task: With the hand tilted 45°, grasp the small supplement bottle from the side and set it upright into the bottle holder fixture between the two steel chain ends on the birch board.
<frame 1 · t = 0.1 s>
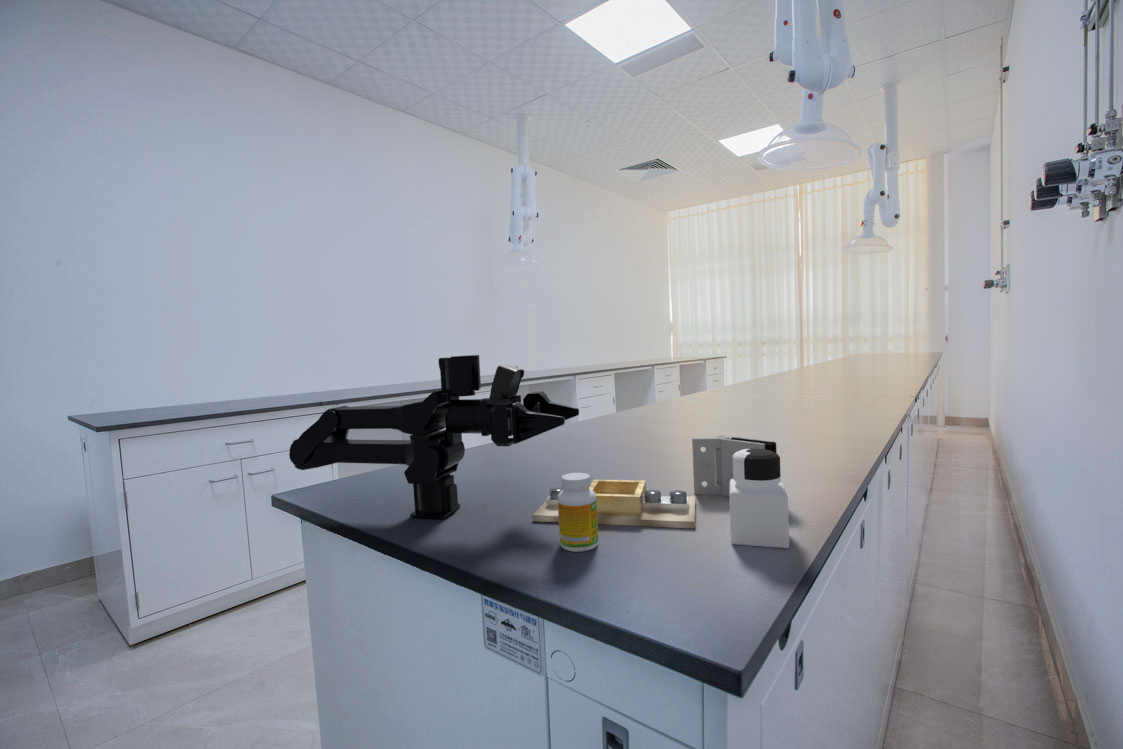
hand: (572, 416, 78), 17 cm above the worktop, tool horizontal, fingers open, 9 cm apart
medicine bottle: (758, 538, 69), on the worktop
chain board: (616, 511, 82), on the worktop
bottle holder fixture: (615, 496, 82), on the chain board, point 2 cm above the worktop
hinge: (734, 497, 86), on the worktop
supplement bottle: (579, 546, 69), on the worktop
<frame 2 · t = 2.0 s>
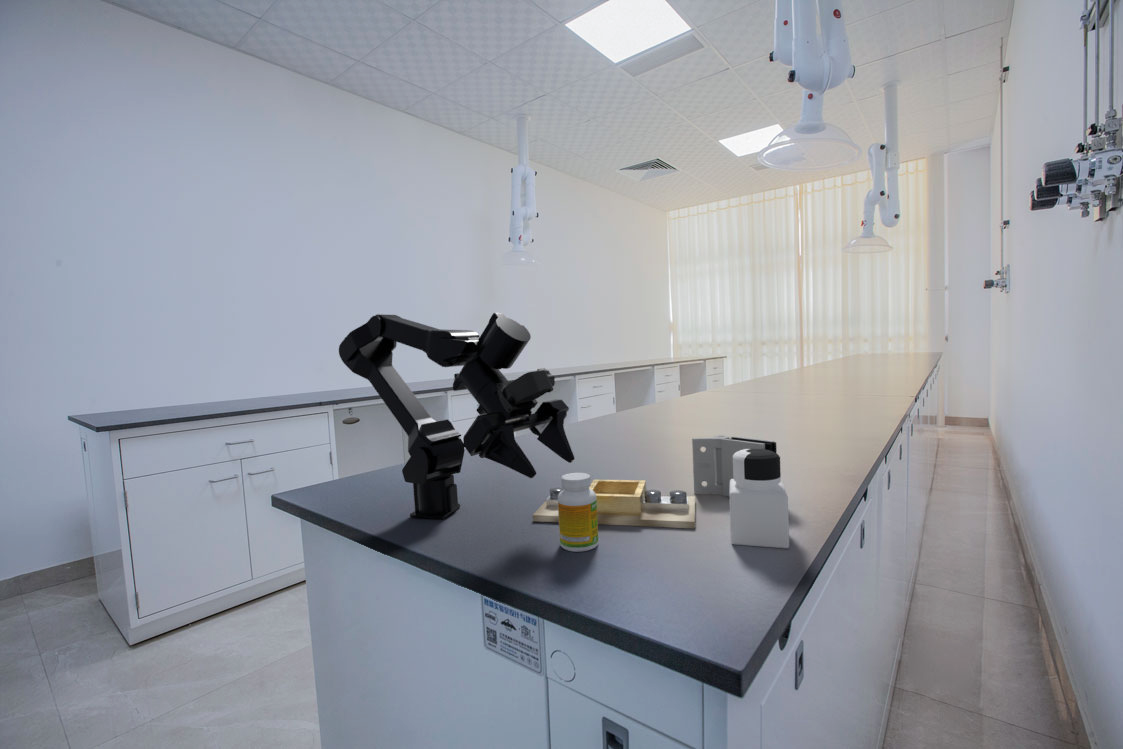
hand: (554, 468, 71), 10 cm above the worktop, tool tilted 45°, fingers open, 9 cm apart
nothing on the worktop moved.
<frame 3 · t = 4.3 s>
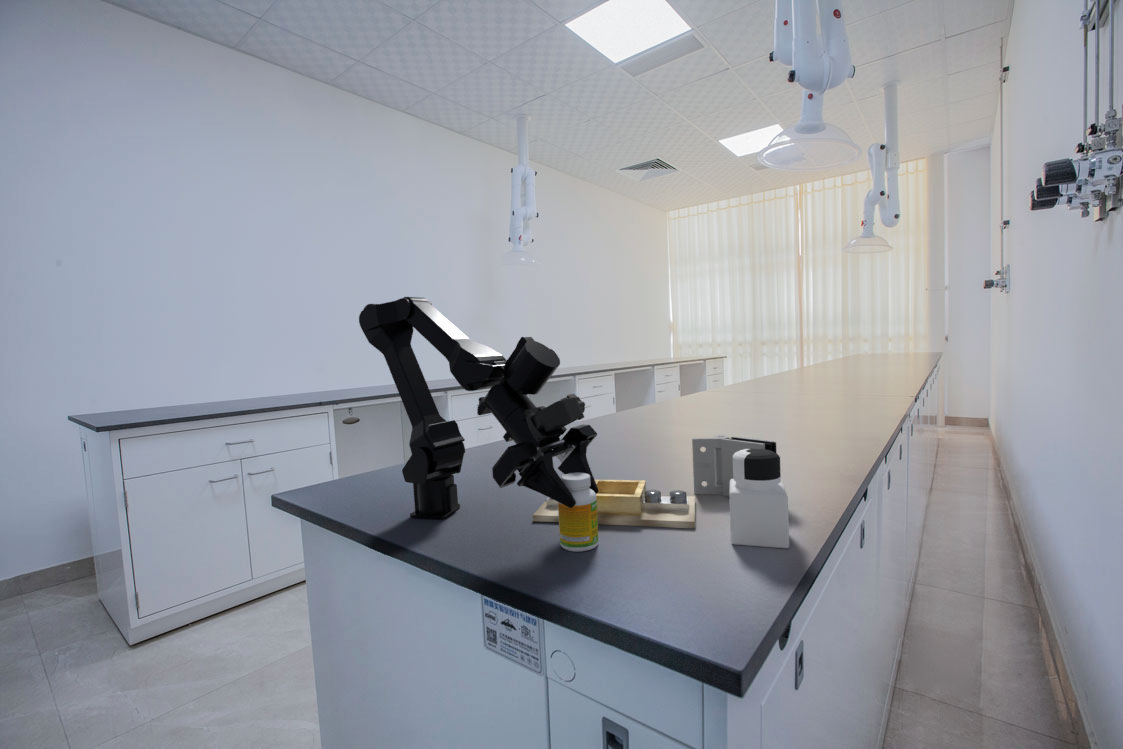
hand: (585, 499, 68), 7 cm above the worktop, tool tilted 45°, fingers closed on supplement bottle, 5 cm apart
supplement bottle: (579, 546, 69), on the worktop, touching gripper
everything else where it was.
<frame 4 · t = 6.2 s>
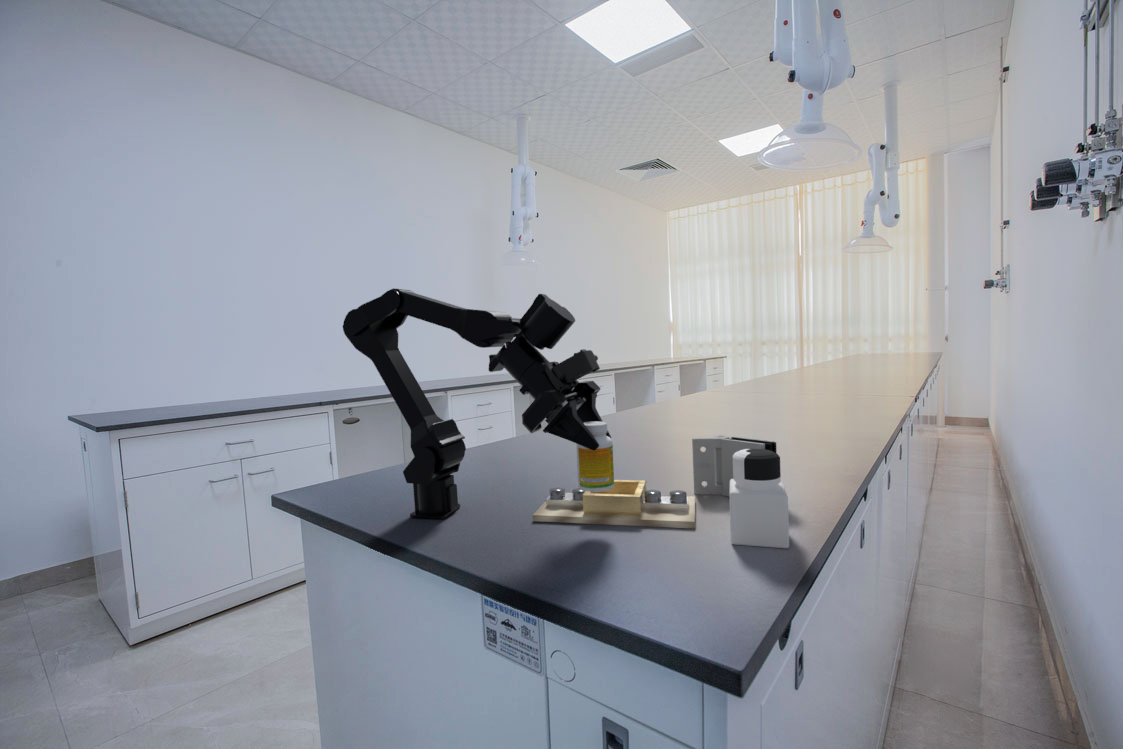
hand: (603, 444, 74), 13 cm above the worktop, tool tilted 45°, fingers closed on supplement bottle, 5 cm apart
supplement bottle: (596, 488, 74), point 6 cm above the worktop, touching gripper
everything else where it was.
when the fingers open (9 cm above the worktop, at t = 8.5 s): supplement bottle drops 1 cm, resting on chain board.
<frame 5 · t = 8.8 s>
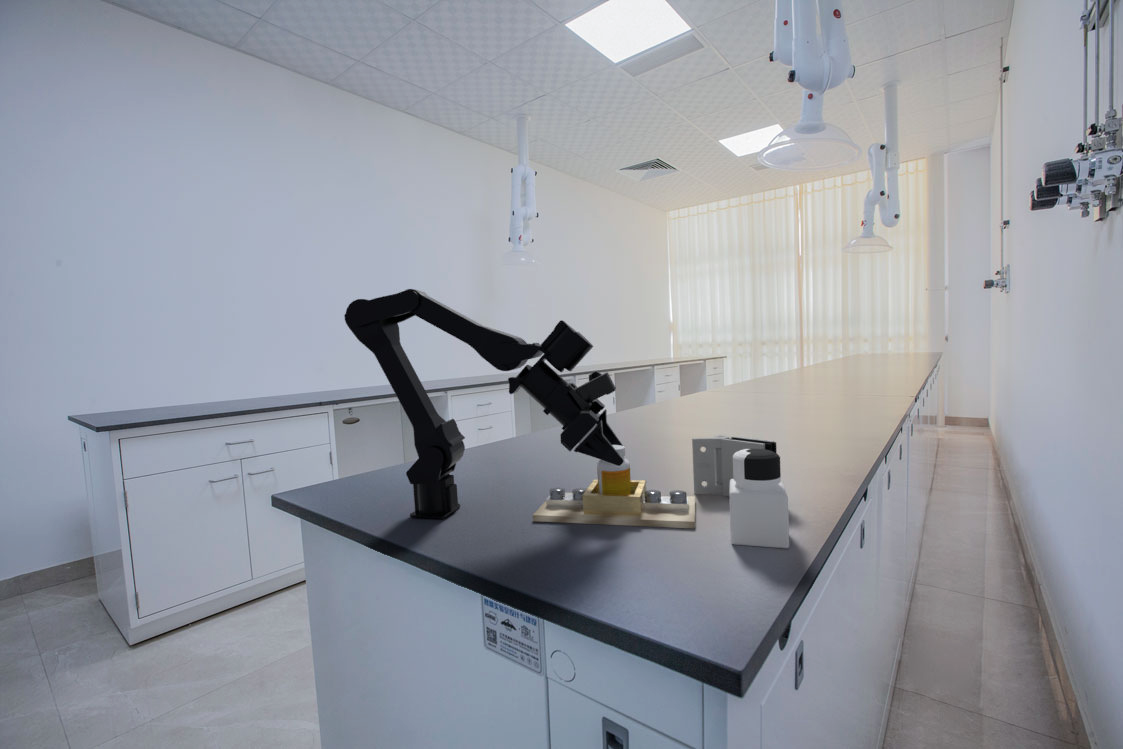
hand: (622, 457, 81), 9 cm above the worktop, tool tilted 45°, fingers open, 8 cm apart
supplement bottle: (615, 506, 82), point 1 cm above the worktop, touching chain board
everything else where it was.
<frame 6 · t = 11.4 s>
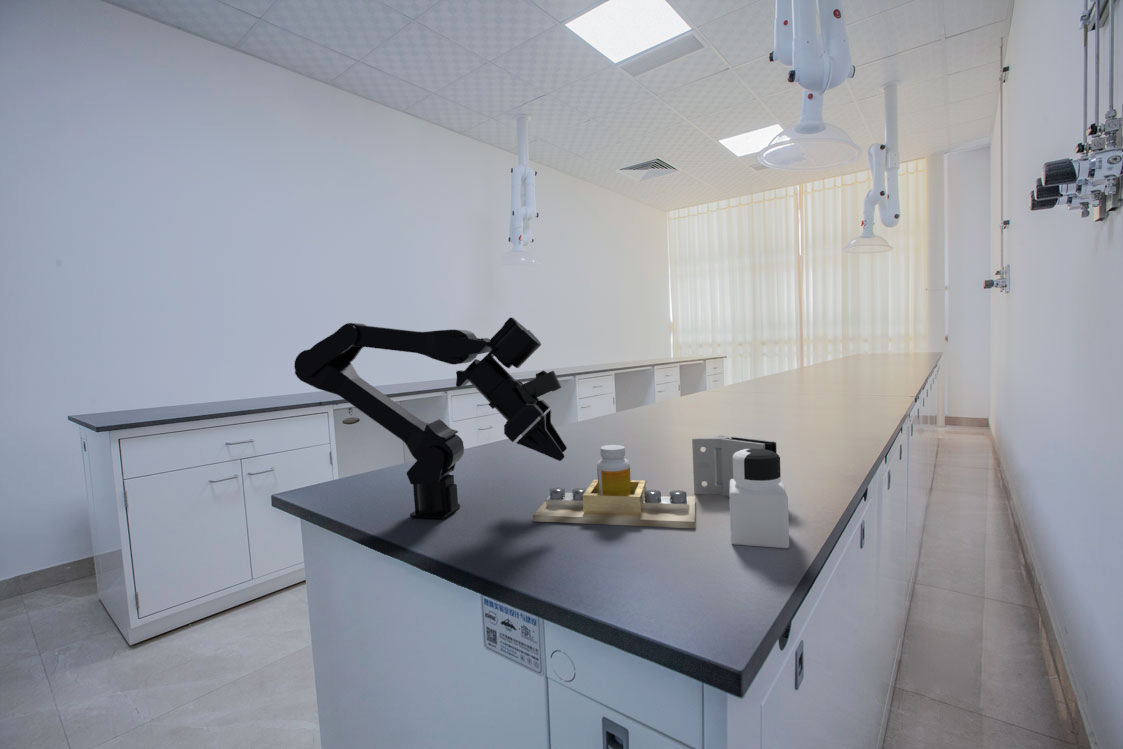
hand: (563, 454, 83), 10 cm above the worktop, tool tilted 40°, fingers open, 9 cm apart
nothing on the worktop moved.
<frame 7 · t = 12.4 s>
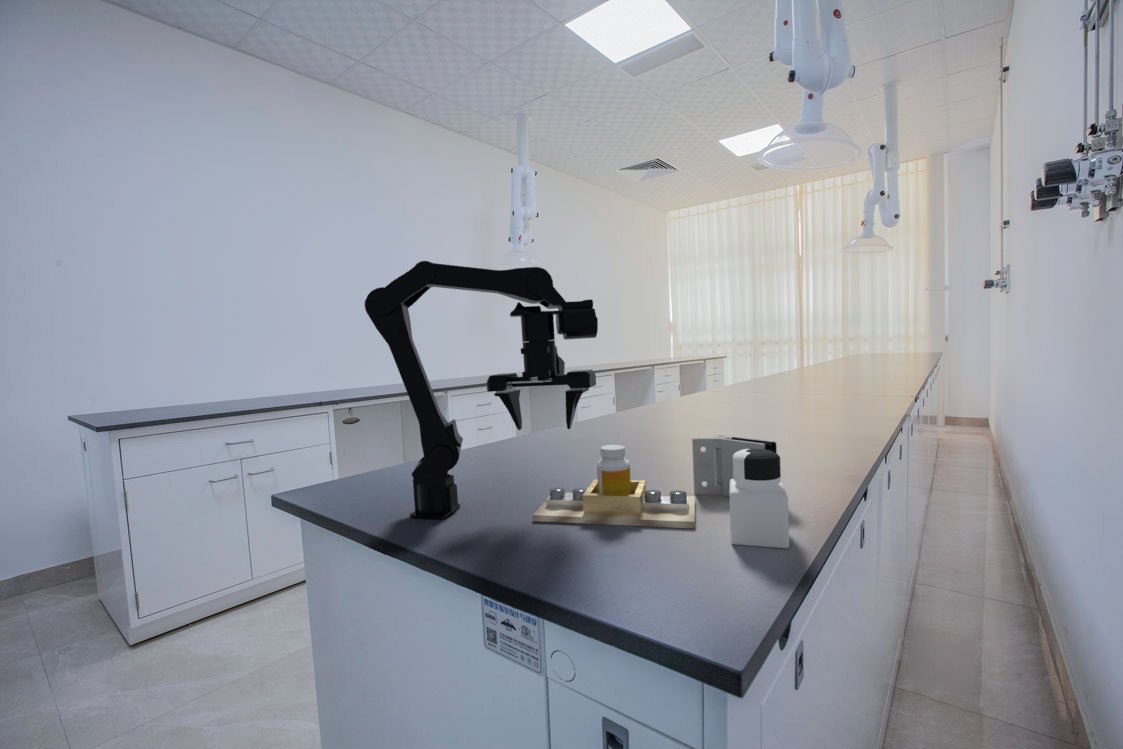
hand: (544, 429, 88), 13 cm above the worktop, tool pointing down, fingers open, 9 cm apart
nothing on the worktop moved.
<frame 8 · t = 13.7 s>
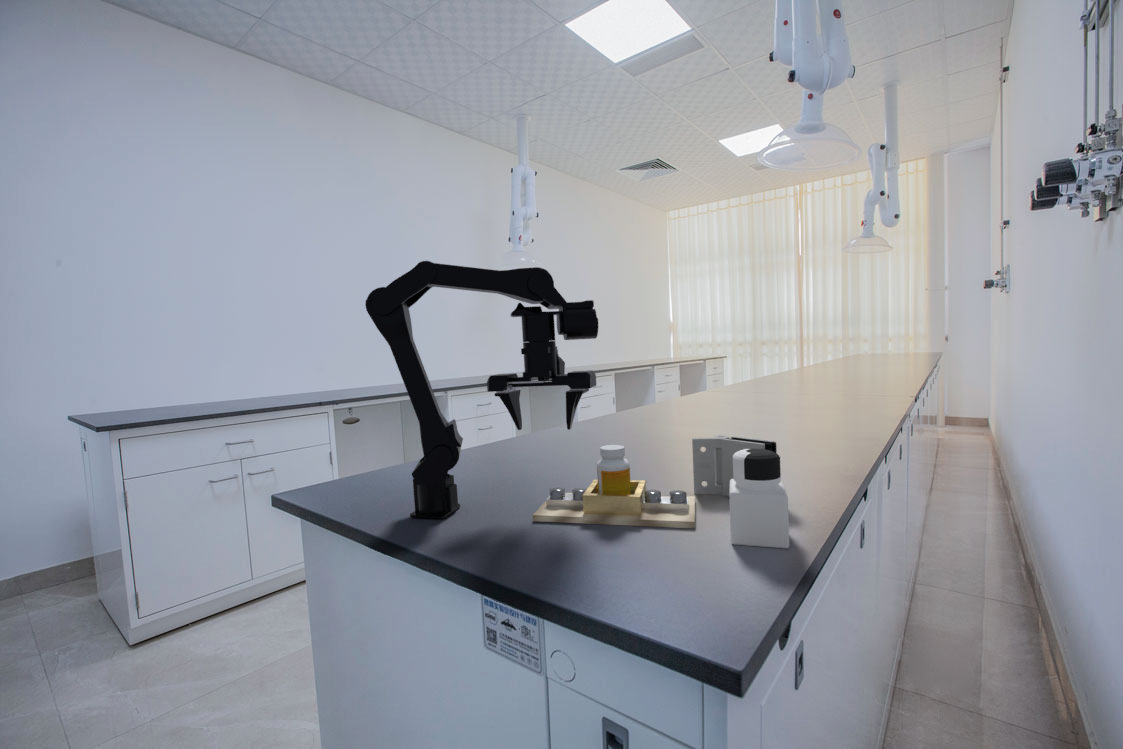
hand: (544, 429, 88), 13 cm above the worktop, tool pointing down, fingers open, 9 cm apart
nothing on the worktop moved.
at the end: supplement bottle 0.2 cm off-centre on the bottle holder fixture, point 0.8 cm above the bottle holder fixture's base; supplement bottle tilted 0°; the gripper is holding nothing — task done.
